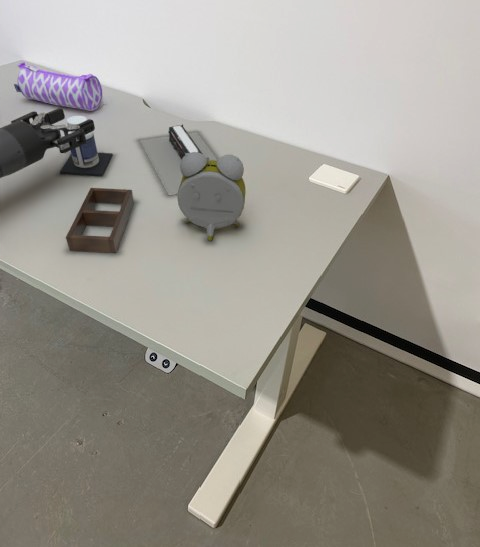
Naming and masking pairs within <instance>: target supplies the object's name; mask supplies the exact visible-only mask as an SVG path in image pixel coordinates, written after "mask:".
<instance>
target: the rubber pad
mask: <svg viewBox="0 0 480 547" xmlns="http://www.w3.org/2000/svg"><path fill="white" fill-rule="evenodd" d="M98 157H99V162H98V164H96V165H95V166H93V167H90V168H80V167H77V166H76V165H75V164H74V162H73V158H72V155H71V154H69V156H68V158H67V159H66V161H65V162H64V163H63V166H62V167H61V169H60V171H59V174H60V175H68V176H69V175H70V176H89V177H90V176H91V177H104V174H105V172H106V170H107V168H108V166H109V163H110V162H111V161H112V158H113V153H111V152H98Z"/></svg>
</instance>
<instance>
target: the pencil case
mask: <svg viewBox="0 0 480 547" xmlns="http://www.w3.org/2000/svg"><path fill="white" fill-rule="evenodd" d="M17 67H18V69H20V71H19V73H18V75H17V83H14V84H13V86H14V89H15V91H16V92H17V93H21V95H22V96H24V97H25V99H27V100H34V101H38V102H42V103H46V104H50V105H54V106H61V107H66V108H67V107H68V108H74V109H79V110H85V111H90V112H93V111H95V110H97V109H98V108H99V106H100V105H101V103H102V101H103V88H102V84H101V82H100V79H99V78H98V77H97V76H96V75H94V74H92V73H89V74H82V75H81V76H79V75H78V76H77V75H71V74H70V75H69V74H65V73H61V72H60V73H59V72H54V71H50V70H44V69H41V68H39V67H37V66H35V65H33V64H26V63H25V61H22V62H21V63H19V64H18V65H17Z"/></svg>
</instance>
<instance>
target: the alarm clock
mask: <svg viewBox="0 0 480 547" xmlns="http://www.w3.org/2000/svg"><path fill="white" fill-rule="evenodd" d="M180 169H181V173H182V175H183V177H182V180H181V183H180V187H179V190H178V194H177V204H178V208H179V210H180V211H181V213H182V214H183V216H184V217H185V218H186V219H185V223H187V224H189V223H193V225H196V226H198V227H202V228H204V229H206V234H207V240H208V241H213V238H214V233H215V230H216V229H222V228H226V227H228V226H231V225H232V224H233V225H234V226H235V227H236V228H237V227H240V223H239V220H238V219H239V218H240V217H241V215H242V213H243V210H244V208H245V201H246V194H247V193H246V192H247V190H246V184H245V180H244V178H243V175H244V171H245V167H244V164H243V161H242V160H241V159H240V158H239V156H236V155H234V154H225V155H221V156H220V157H219V158H218V159H217V160H214V159H209V157H207V158H206V157H205V156H204V155H203V154H201V153H198V152H191V153H186V154H185V156H184V157H183V159H182V160H181V163H180Z"/></svg>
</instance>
